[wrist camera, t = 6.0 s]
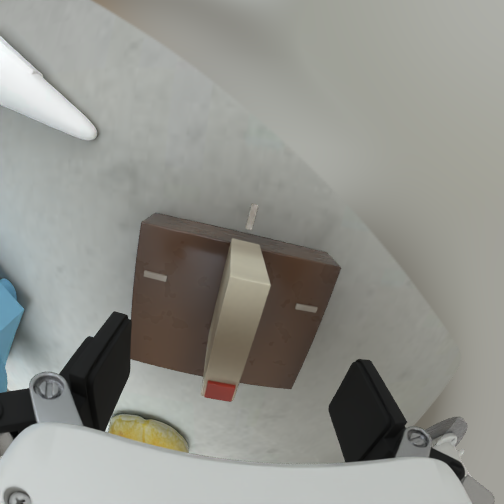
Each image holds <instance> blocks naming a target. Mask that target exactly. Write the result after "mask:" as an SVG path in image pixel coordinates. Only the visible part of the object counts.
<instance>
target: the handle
mask: <svg viewBox="0 0 504 504" xmlns="http://www.w3.org/2000/svg"><path fill="white" fill-rule="evenodd" d="M270 287H271V284H270V280H269V277H268V273H267V270H266V266H265V262H264V259H263V255H262V252H261V248H260V245H259V244H255V243H250V242H246V241H242V240H238V239H233V238H232V239H231V243H230V247H229V251H228V255H227V259H226V263H225V267H224V272H223V276H222V280H221V284H220V288H219V292H218V297H217V301H216V305H215V309H214V314H213V318H212V322H211V327H210V331H209V336H208V343H207V351H206V358H205V366H204V374H203V382H202V390H201V396H204V397H206V398H211V399H217V400H223V401H229V402H231V401H233V400H234V397H235V394H236V391H237V388H238V385H239V382H240V379H241V376H242V374H243V371H244V368H245V365H246V362H247V358H248V355H249V352H250V349H251V346H252V343H253V340H254V337H255V334H256V331H257V328H258V325H259V322H260V318H261V315H262V312H263V309H264V306H265V303H266V299H267V296H268V293H269V290H270Z"/></svg>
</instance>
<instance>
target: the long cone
mask: <svg viewBox="0 0 504 504" xmlns="http://www.w3.org/2000/svg"><path fill="white" fill-rule="evenodd" d="M0 105H2V106H4V107H6V108H9V109H11V110H13V111H16V112H18V113H20V114H23V115H25V116H27V117H29V118H32V119H34V120H36V121H39V122H41V123H43V124H45V125H48V126H50V127H52V128H55V129H57V130H59V131H62V132H64V133H66V134H69V135H71V136H74V137H76V138H79V139H83V140H93V139H95V138H96V136H97V130H96V128H95V127H94V125H93V124H92V123H91V122H90V121H89V119H88V118H87V117H86V116H85V115H84V114H83V113H81V112H80V111H79V110H78V109H77V108H76V107H75V106H74V105H72V104H71V103H70V102H69V101H68V100H67V99H66V98H65V97H64V96H63V95H62V94H61V93H59V92H58V91H57V90H56V89H55V88H54V87H53V86H52V85H50V84H49V83H48V82H47V81H46V80H45V79H44V78H43V75H42V74H41V73H40V72H39V71H38V70H37V69H36V68H35V67H33V66H32V65H31V64H30V63H29V62H28V61H27V60H26V59H25V58H24V57H23V56H21V55H20V54H19V53H18V52H17V51H16V50H15V49H14V48H13V47H12V46H11V45H9V44H8V43H7V42H6V41H5V40H4V39H3V38H2V37H1V36H0Z"/></svg>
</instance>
